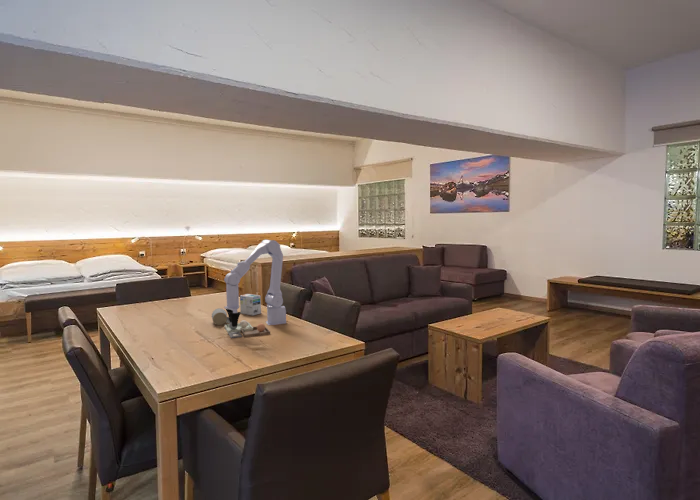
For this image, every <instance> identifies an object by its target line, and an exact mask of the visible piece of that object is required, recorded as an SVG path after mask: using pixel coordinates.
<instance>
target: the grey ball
mask: <svg viewBox="0 0 700 500" xmlns="http://www.w3.org/2000/svg"><path fill="white" fill-rule="evenodd" d="M228 324H229V327H230V329H236V328H237V326H238V325H237V326H235V327H233V326H232V323H231V322H230V323H228Z"/></svg>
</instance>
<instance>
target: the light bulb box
mask: <svg viewBox="0 0 700 500" xmlns="http://www.w3.org/2000/svg"><path fill="white" fill-rule="evenodd" d="M239 309H240V310H239V312H241V315H248V316H256V315H259V314H262V296H261V295H259V294H254V293H253V294H252V293H245V294H241V295H239Z"/></svg>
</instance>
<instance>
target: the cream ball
mask: <svg viewBox="0 0 700 500" xmlns="http://www.w3.org/2000/svg"><path fill="white" fill-rule="evenodd" d="M239 323H240V327H241V328H246V327H247V326H248V321H247V320H245V319H243V320H240V322H239Z"/></svg>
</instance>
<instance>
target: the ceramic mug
mask: <svg viewBox="0 0 700 500" xmlns="http://www.w3.org/2000/svg"><path fill="white" fill-rule="evenodd" d="M211 318H212V322H213V324H215V326H222V325H226V323H227V324H230V321H229V316H228V313H227V311H226V309H225V308H224V309H223V308H215V309H214V310H213V311H212V313H211Z"/></svg>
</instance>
